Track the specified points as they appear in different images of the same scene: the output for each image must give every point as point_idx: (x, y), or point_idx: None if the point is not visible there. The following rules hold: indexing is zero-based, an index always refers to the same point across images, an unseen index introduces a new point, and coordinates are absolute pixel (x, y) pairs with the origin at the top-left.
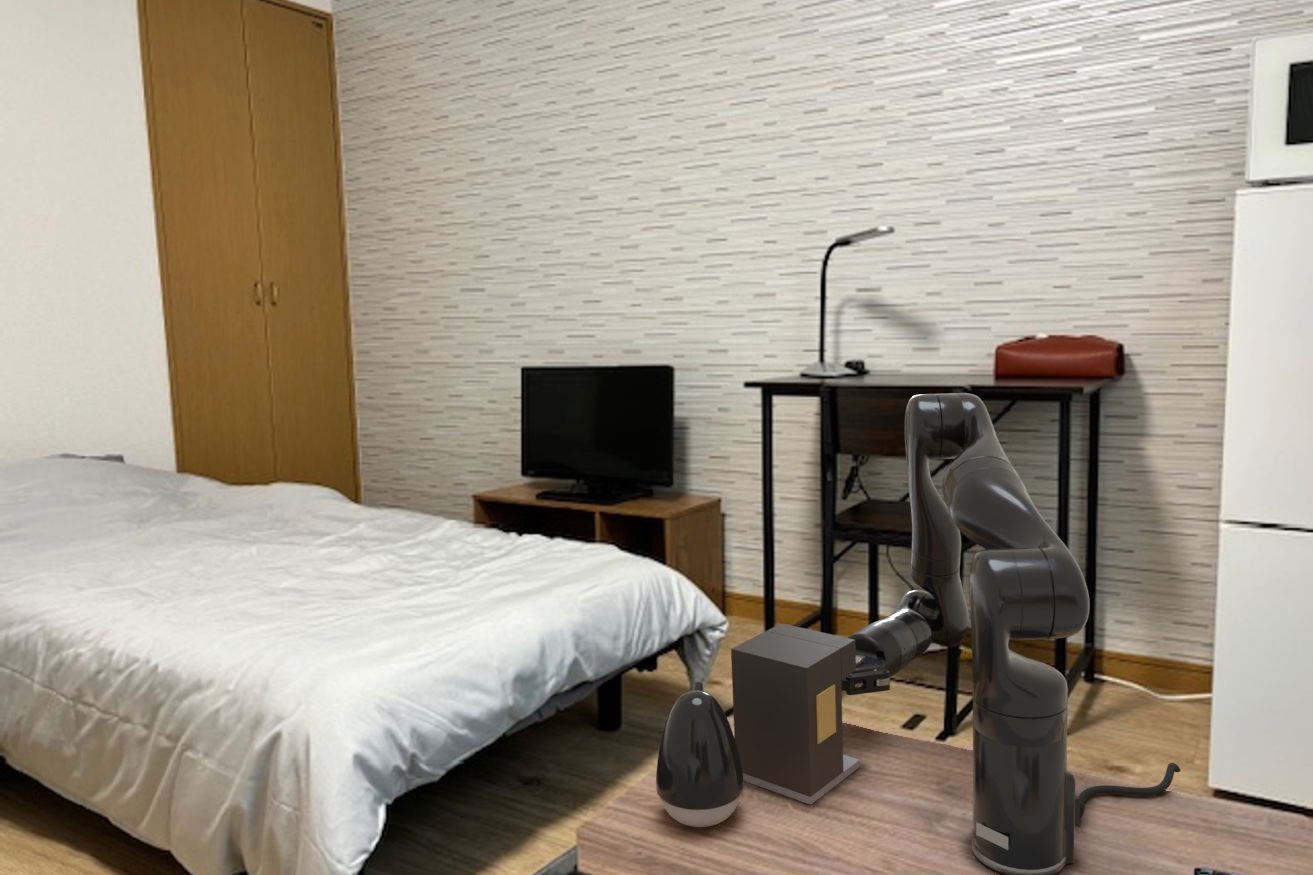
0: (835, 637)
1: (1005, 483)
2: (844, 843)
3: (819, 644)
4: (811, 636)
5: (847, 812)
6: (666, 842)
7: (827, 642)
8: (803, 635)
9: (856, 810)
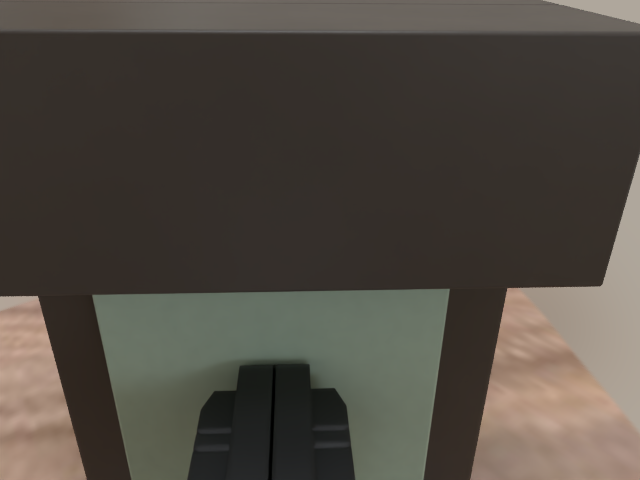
0: (34, 22)
1: None
2: (33, 344)
3: (123, 2)
4: (239, 13)
5: (51, 430)
6: None
7: (78, 7)
8: (303, 12)
9: (26, 449)
